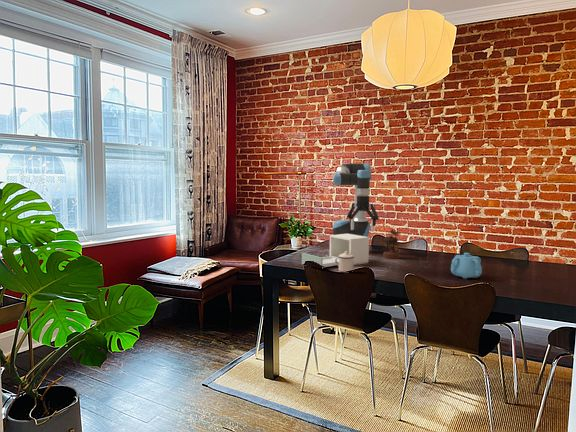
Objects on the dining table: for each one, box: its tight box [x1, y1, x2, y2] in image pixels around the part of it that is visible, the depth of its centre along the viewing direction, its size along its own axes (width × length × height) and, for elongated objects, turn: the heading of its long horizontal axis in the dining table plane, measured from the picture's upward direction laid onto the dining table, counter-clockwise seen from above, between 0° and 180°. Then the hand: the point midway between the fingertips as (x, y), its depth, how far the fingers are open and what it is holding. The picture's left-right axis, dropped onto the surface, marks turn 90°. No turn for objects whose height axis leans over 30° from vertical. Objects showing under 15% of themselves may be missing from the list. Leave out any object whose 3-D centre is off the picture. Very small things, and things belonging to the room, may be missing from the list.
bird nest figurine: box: [379, 228, 401, 260], centre depth 296 cm, size 15×11×20 cm
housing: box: [329, 234, 370, 266], centre depth 282 cm, size 20×16×17 cm
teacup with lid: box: [335, 251, 354, 272], centre depth 257 cm, size 12×9×12 cm
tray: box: [301, 252, 339, 268], centre depth 271 cm, size 19×24×7 cm
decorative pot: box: [450, 252, 483, 280], centre depth 243 cm, size 16×16×14 cm
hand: (362, 230), depth 262 cm, fingers open, 13 cm apart
